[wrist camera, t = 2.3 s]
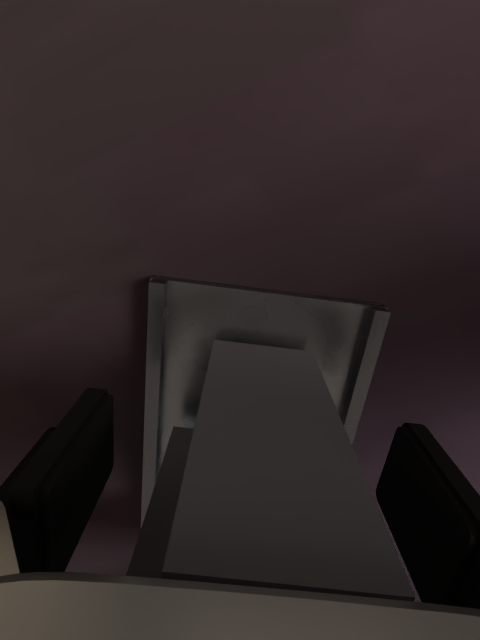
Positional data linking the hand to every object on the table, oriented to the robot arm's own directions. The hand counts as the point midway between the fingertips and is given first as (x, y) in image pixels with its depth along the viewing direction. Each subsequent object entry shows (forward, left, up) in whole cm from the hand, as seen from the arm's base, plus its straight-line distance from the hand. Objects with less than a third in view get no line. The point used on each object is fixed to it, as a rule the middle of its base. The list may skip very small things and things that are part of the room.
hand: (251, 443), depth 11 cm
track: (0, +3, -5) cm, 5 cm away
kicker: (0, +3, -3) cm, 5 cm away
